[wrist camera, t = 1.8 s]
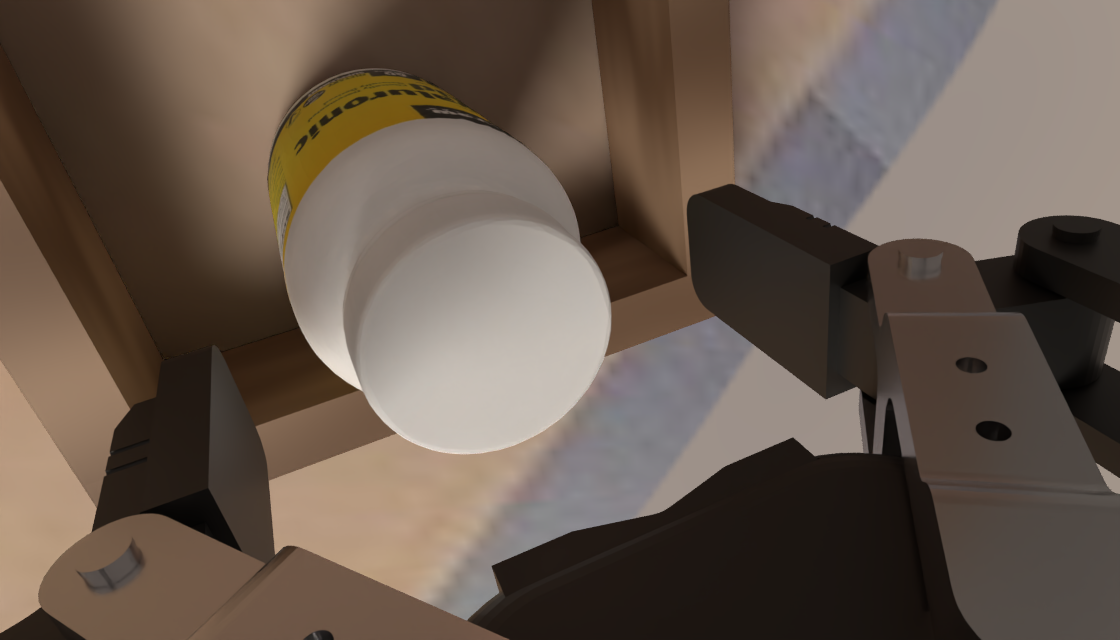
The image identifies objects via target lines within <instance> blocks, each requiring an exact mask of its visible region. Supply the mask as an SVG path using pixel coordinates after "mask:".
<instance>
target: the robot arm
mask: <svg viewBox="0 0 1120 640" xmlns="http://www.w3.org/2000/svg"><path fill="white" fill-rule="evenodd" d="M687 225H688V239H689V252H690V266H691V278H692V283H693V287H694V290H695V292H696V294H697V297H698V298H699V300H700V302H701V303H702V305H703V306H704V307H705V308H706V309H707V310H709V311H710V312H711V313H713V314H714V315H715V316H717V317H718V318H719V319H721V320H722V321H723V322H725V323H726V324H727V325H729V326H730V327H731V328H732V329H734V330H735V331H736V332H738V333H739V334H740V335H742V336H743V337H744V338H746V339H747V340H748V341H750V342H751V343H752V344H754V345H755V346H756V347H757V348H759V349H760V350H761V351H763V352H764V353H766V354H767V355H768V356H769V357H771V358H772V359H773V360H775V361H776V362H777V363H779V364H780V365H781V366H783V367H784V368H785V369H787V370H788V371H789V372H790V373H792V374H793V375H795V376H796V377H797V378H798V379H800V380H801V381H802V382H804V383H805V384H806V385H808V386H809V387H810V388H812V389H813V390H814V391H816V392H817V393H818V394H819V395H821V396H822V397H823V398H825V399H828V398H831V397H833V396H835V395H838V394H840V393H842V392H845V391H847V390H850V389H852V388H855V387H858V388H859V389H860V397H859V415H860V425H861V433H862V442H863V451H864V453H836V454H827V455H819V456H814V455H813V454H811V453H810V452H809V451H808V450H807V449H805V448H804V447H803V446H802V445H801V444H800V443H799V442H798V441H796V440H795V439H794V438H790V439H788V440H786V441H784V442H781V443H779V444H776V445H774V446H772V447H769V448H767V449H765V450H762V451H760V452H758V453H755V454H753V455H751V456H749V457H746V458H744V459H742V460H739V461H737V462H734V463H732V464H730V465H727V466H725V467H724V468H722V469H721V470H720V471H718V472H717V473H716V474H714V475H713V476H711V477H710V478H709V479H707V480H706V481H705V482H703V483H702V484H701V485H699V486H698V487H697V488H695V489H694V490H693V491H691V492H690V493H688V494H687V495H686V496H684V497H683V498H682V499H680V500H679V501H678V502H676V503H675V504H673V505H672V506H671V507H669V508H668V509H666V510H665V511H663V512H660V513H657V514H654V515H649V516H644V517H639V518H635V519H630V520H625V521H620V522H615V523H611V524H606V525H601V526H596V527H592V528H587V529H582V530H577V531H572V532H570V533H568V534H565V535H563V536H561V537H558V538H556V539H554V540H551V541H549V542H547V543H544V544H542V545H540V546H537V547H535V548H533V549H530V550H528V551H526V552H523V553H521V554H518V555H516V556H514V557H511V558H509V559H507V560H504V561H502V562H500V563H497V564H495V565H493V566H492V569H493V572H494V576H495V579H496V582H497V586H498V589H499V594H497V595H496V596H495V597H493V598H492V599H491V600H489V601H488V602H487V603H485V604H484V605H483V606H482V607H481V608H480V609H479V610H478V611H476V612H475V613H474V614H473V615H472V616H471V617H470V618H469V619H468V620H467V621H466V620H464V619H461V618H459V617H457V616H455V615H452V614H450V613H448V612H446V611H443V610H441V609H439V608H437V607H434V606H432V605H430V604H427V603H425V602H423V601H421V600H418V599H416V598H414V597H412V596H409V595H407V594H405V593H403V592H400V591H398V590H396V589H393V588H391V587H389V586H387V585H384V584H382V583H380V582H378V581H375V580H373V579H371V578H368V577H366V576H364V575H362V574H359V573H357V572H355V571H353V570H350V569H348V568H346V567H344V566H341V565H339V564H337V563H334V562H332V561H330V560H328V559H325V558H323V557H321V556H319V555H316V554H314V553H312V552H310V551H307V550H305V549H302V548H300V547H296V546H286V547H283V548H282V549H281V550H280V551H279V552H278V553H277V554H276V555H275V550H274V539H273V527H272V515H271V504H270V492H269V480H268V469H267V461H266V456H265V452H264V449H263V445H262V442H261V439H260V437H259V434H258V431H257V429H256V427H255V424H254V422H253V420H252V418H251V416H250V414H249V411H248V409H247V407H246V405H245V403H244V401H243V398H242V396H241V394H240V392H239V390H238V388H237V385H236V383H235V381H234V379H233V377H232V375H231V372H230V370H229V368H228V366H227V364H226V362H225V360H224V357H223V356H222V354H221V352H220V350H219V349H218V348H217V346H215V345H211V346H208V347H205V348H202V349H199V350H195V351H192V352H189V353H186V354H183V355H180V356H176V357H173V358H170V359H167V360H164V361H162V362H161V367H160V374H159V381H158V387H157V394H156V397H155V398H152V399H149V400H146V401H143V402H140V403H137V404H134V405H133V407H132V408H131V409H130V410H129V412H128V413H127V414H126V415H125V417H124V418H123V419H122V420H121V422H120V423H119V424H118V425H117V427H116V428H115V429H114V433H113V438H112V443H111V447H110V455H111V456H109V457H108V461H107V465H106V470H105V472H106V476H104V479H103V483H102V488H101V492H100V497H99V501H98V506H97V510H96V515H95V519H94V524H93V528H92V533H90V534H88V535H86V536H85V537H84V538H82V539H81V540H79V541H78V542H76V543H75V544H74V545H73V546H71V547H70V548H69V549H68V550H66V551H65V552H64V553H63V554H62V555H61V556H60V557H59V558H58V559H57V560H56V562H55V563H54V564H53V565H52V566H51V567H50V569H49V570H48V572H47V573H46V575H45V576H44V578H43V581H42V583H41V585H40V589H39V593H38V598H39V603H40V605H41V608H39V609H38V610H37V611H35V612H34V613H33V614H31V615H30V616H28V617H27V618H25V619H23V620H22V621H20V622H19V623H17V624H15V625H14V626H12V627H10V628H9V629H7V630H5V631H4V632H2V633H0V640H1120V494H1116V493H1114V492H1112V491H1111V490H1110V489H1109V488H1108V487H1107V485H1106V483H1105V481H1104V479H1103V477H1102V475H1101V473H1100V471H1099V469H1098V467H1097V465H1096V463H1097V464H1099V465H1100V466H1102V467H1104V468H1105V469H1107V470H1108V471H1110V472H1111V473H1113V474H1114V475H1116V476H1117V477H1119V478H1120V371H1118V370H1116V369H1114V368H1112V367H1110V366H1108V365H1106V364H1104V360H1105V356H1106V353H1107V349H1108V345H1109V341H1110V337H1111V333H1112V330H1113V325H1114V322H1115V321H1117V322H1119V323H1120V225H1118V224H1115V223H1112V222H1109V221H1105V220H1101V219H1097V218H1091V217H1084V216H1067V215H1066V216H1049V217H1043V218H1038V219H1035V220H1032V221H1029V222H1027V223H1026V224H1024V225H1023V226H1022V227H1021V228H1020V230H1019V233H1018V238H1017V245H1016V250H1015V255H1012V256H1006V257H999V258H993V259H986V260H980V261H974V258H973V257H972V256H971V254H970V253H969V252H967V251H966V250H964V249H963V248H961V247H959V246H957V245H954V244H951V243H948V242H943V241H938V240H932V239H903V240H896V241H891V242H888V243H885V244H882V245H880V246H878V245H876V244H874V243H871V242H869V241H867V240H865V239H863V238H860V237H858V236H856V235H854V234H852V233H850V232H848V231H846V230H843V229H841V228H839V227H837V226H835V225H834V226H832V227H831V225H830V223H828V222H826V221H824V220H822V219H820V218H818V217H817V218H814V217H813V215H811V214H809V213H807V212H805V211H802V210H800V209H798V208H796V207H794V206H791V205H786V204H780V203H775V202H770V201H768V200H766V199H764V198H762V197H760V196H758V195H756V194H754V193H751V192H749V191H747V190H745V189H743V188H741V187H739V186H737V185H734V184H727V185H724V186H721V187H717V188H714V189H711V190H708V191H705V192H702V193H698V194H695V195H692V196H691V197H690V198H689V200H688V203H687Z"/></svg>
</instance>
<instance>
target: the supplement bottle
mask: <svg viewBox="0 0 1120 640" xmlns="http://www.w3.org/2000/svg"><path fill="white" fill-rule="evenodd" d="M267 180H268V190H269V197H270V203H271V208H272V213H273V218H274V224H275V229H276V235H277V241H278V246H279V251H280V256H281V262H282V266H283V272H284V278H285V283H286V288H287V292H288V296H289V299H290V302H291V305H292V308H293V311H294V314H295V317H296V319H297V322H298V324H299V326H300V329H301V331H302V333H303V334H304V336H305V338H306V340H307V341H308V343H309V345H310V346H311V348H312V349H313V351H314V352H315V353H316V355H317V356H318V357H319V358H320V359H321V360H322V361H323V362H324V363H325V364H326V365H327V366H328V367H329V368H330V369H331V370H332V371H333V372H334V373H335V374H336V375H338V376H339V377H340V378H342V379H343V380H345V381H346V382H348V383H349V384H351V385H352V386H354V387H356V388H357V389H359V390H361V391H363V393H364V395H365V397H366V399H367V400H368V402H369V404H370V406H371V407H372V409H373V410H374V411H375V413H376V414H377V415H378V416H379V417H380V418H381V419H382V421H383V422H384V423H385V424H386V425H387V426H389V427H390V428H391V429H392V430H393V431H395V432H396V433H397V434H399V435H400V436H402V437H403V438H405V439H407V440H409V441H411V442H412V443H414V444H416V445H419V446H422V447H425V448H427V449H430V450H434V451H439V452H444V453H453V454H476V453H485V452H490V451H496V450H500V449H504V448H507V447H510V446H513V445H516V444H518V443H521V442H523V441H525V440H527V439H529V438H531V437H533V436H536V435H537V434H539V433H541V432H542V431H544V430H545V429H547V428H548V427H550V426H551V425H552V424H554V423H555V422H557V421H558V420H559V419H561V418H562V417H563V416H564V415H565V414H566V413H567V412H568V411H569V410H570V409H571V408H572V407H573V406H574V405H575V404H576V403H577V402H578V401H579V399H580V398H581V397H582V396H583V394H584V393H585V392H586V390H587V389H588V388H589V387H590V385H591V383H592V381H593V380H594V378H595V376H596V374H597V373H598V371H599V369H600V366H601V364H602V362H603V359H604V356H605V353H606V350H607V346H608V342H609V338H610V333H611V318H612V316H611V302H610V296H609V292H608V288H607V285H606V282H605V279H604V277H603V275H602V272H601V270H600V268H599V267H598V265H597V263H596V262H595V260H594V259H593V257H592V256H591V254H590V253H589V251H588V250H587V249H586V248H585V247H584V246H583V245H582V244H581V242H580V234H579V228H578V223H577V219H576V216H575V212H574V210H573V207H572V204H571V202H570V200H569V198H568V196H567V194H566V192H565V191H564V189H563V187H562V185H561V184H560V182H559V181H558V179H557V178H556V177H555V175H554V174H553V172H552V171H551V170H550V169H549V168H548V167H547V166H546V164H545V163H543V162H542V161H541V160H540V159H539V158H538V157H537V156H536V155H535V154H534V153H532V152H531V151H530V150H529V149H528V148H527V147H526V146H525V145H523V144H522V143H521V142H520V141H518V140H516V139H515V138H513V137H512V136H511V135H509V134H508V133H506V132H505V131H503V130H502V129H500V128H498V127H497V126H495V125H494V124H492V123H491V122H489V121H488V120H486V119H485V118H484V117H482V116H481V115H479V114H478V113H476V112H475V111H474V110H472V109H471V108H469V107H468V106H466V105H465V104H463V103H462V102H461V101H459V100H457V99H456V98H454V97H453V96H452V95H450V94H449V93H447V92H445V91H444V90H442V89H441V88H439V87H438V86H436V85H434V84H433V83H430V82H429V81H426V80H424V79H422V78H420V77H417V76H414V75H412V74H409V73H405V72H402V71H397V70H391V69H380V68H371V69H359V70H353V71H349V72H345V73H341V74H338V75H336V76H333V77H331V78H328V79H327V80H325V81H323V82H321V83H319V84H318V85H316V86H315V87H313V88H311V89H310V90H309V91H308V92H306V93H305V94H304V95H303V96H302V97H301V98H300V99H299V100H297V101H296V103H295V104H294V105H293V106H292V107H291V108H290V109H289V111H288V112H287V114H286V115H285V117H284V118H283V120H282V122H281V123H280V126H279V128H278V130H277V132H276V134H275V137H274V139H273V143H272V147H271V151H270V157H269V163H268V178H267Z"/></svg>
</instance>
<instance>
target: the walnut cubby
mask: <svg viewBox="0 0 1120 640" xmlns="http://www.w3.org/2000/svg"><path fill="white" fill-rule="evenodd" d="M592 7H593V15H594V23H595V32H596V40H597V49H598V57H599V66H600V74H601V82H602V91H603V99H604V108H605V116H606V124H607V133H608V141H609V150H610V158H611V166H612V175H613V183H614V192H615V200H616V208H617V217H618V225H619V226H617V227H614V228H611V229H607V230H604V231H601V232H598V233H595V234H592V235H589V236H585V237H582V238H580V242H581V244H582V245H583V246H584V247H585V248H586V249H587V250H588V251H589V253H590V254H591V256H592V257H593V259H594V260H595V262H596V263H597V265H598V267H599V268H600V270H601V272H602V275H603V277H604V279H605V282H606V285H607V288H608V292H609V296H610V302H611V316H612V318H611V333H610V338H609V342H608V346H607V350H606V353H605V356H608V355H611V354H613V353H616V352H619V351H622V350H624V349H627V348H630V347H632V346H635V345H638V344H641V343H643V342H646V341H649V340H651V339H654V338H657V337H660V336H662V335H665V334H668V333H671V332H673V331H676V330H679V329H681V328H684V327H687V326H690V325H692V324H695V323H698V322H700V321H703V320H706V319H709V318H711V317H714V316H715V315H714V314H713V313H711V312H710V311H709V310H707V309H706V308H705V307H704V306H703V305H702V303H701V302H700V300H699V298H698V297H697V294H696V292H695V290H694V287H693V283H692V278H691V266H690V252H689V239H688V225H687V203H688V200H689V198H690V197H691V196H692V195H695V194H698V193H702V192H705V191H708V190H711V189H714V188H717V187H721V186H724V185H727V184H734V185H735V177H734V144H733V112H732V79H731V46H730V13H729V0H592ZM221 354H222V356H223V357H224V360H225V362H226V364H227V366H228V368H229V370H230V372H231V375H232V377H233V379H234V381H235V383H236V385H237V388H238V390H239V392H240V394H241V396H242V398H243V401H244V403H245V405H246V407H247V409H248V411H249V414H250V416H251V418H252V420H253V422H254V424H255V427H256V429H257V431H258V434H259V437H260V439H261V442H262V445H263V449H264V452H265V456H266V461H267V469H268V480H271V479H274V478H277V477H279V476H282V475H285V474H287V473H290V472H293V471H296V470H298V469H301V468H304V467H306V466H309V465H312V464H315V463H317V462H320V461H323V460H326V459H328V458H331V457H334V456H336V455H339V454H342V453H345V452H347V451H350V450H353V449H355V448H358V447H361V446H364V445H366V444H369V443H372V442H374V441H377V440H380V439H383V438H385V437H388V436H391V435H393V434H396V432H395V431H393V430H392V429H391V428H390V427H389V426H387V425H386V424H385V423H384V422H383V421H382V419H381V418H380V417H379V416H378V415H377V414H376V413H375V411H374V410H373V409H372V407H371V406H370V404H369V402H368V400H367V399H366V397H365V395H364V393H363V391H361V390H359V389H357V388H356V387H354V386H352V385H351V384H349V383H348V382H346V381H345V380H343V379H342V378H340V377H339V376H338V375H336V374H335V373H334V372H333V371H332V370H331V369H330V368H329V367H328V366H327V365H326V364H325V363H324V362H323V361H322V360H321V359H320V358H319V357H318V356H317V355H316V353H315V352H314V351H313V349H312V348H311V346H310V345H309V343H308V341H307V340H306V338H305V336H304V334H303V333H302V331H301V329H300V328H297V329H294V330H291V331H287V332H284V333H281V334H278V335H275V336H272V337H269V338H266V339H262V340H259V341H256V342H253V343H250V344H247V345H244V346H240V347H237V348H234V349H231V350H228V351H225V352H222V353H221ZM605 356H604V357H605ZM0 360H1V361H2V363H3V365H4V366H5V368H6V369H7V371H8V372H9V374H10V375H11V377H12V378H13V380H14V381H15V383H16V385H17V386H18V388H19V389H20V391H21V392H22V394H23V395H24V397H25V398H26V400H27V401H28V403H29V405H30V406H31V408H32V409H33V411H34V412H35V414H36V415H37V417H38V418H39V420H40V421H41V423H42V424H43V426H44V428H45V429H46V431H47V432H48V434H49V435H50V437H51V438H52V440H53V441H54V443H55V444H56V446H57V448H58V449H59V451H60V452H61V454H62V455H63V457H64V458H65V460H66V461H67V463H68V464H69V466H70V468H71V469H72V471H73V472H74V474H75V475H76V477H77V478H78V480H79V481H80V483H81V484H82V486H83V487H84V489H85V491H86V492H87V494H88V495H89V497H90V498H91V500H92V501H93V503H94V504H95V506H96V507H97V506H98V501H99V497H100V492H101V488H102V483H103V479H104V476H106V472H105V470H106V465H107V461H108V457H109V456H111V455H110V447H111V443H112V438H113V433H114V429H115V428H116V427H117V425H118V424H119V423H120V422H121V420H122V419H123V418H124V417H125V415H126V414H127V413H128V412H129V410H130V409H131V408H132V407H133V405H134V404H137V403H140V402H143V401H146V400H149V399H152V398H155V397H156V394H157V387H158V381H159V374H160V367H161V362H162V361H163V359H162V357H161V355H160V353H159V351H158V349H157V347H156V345H155V343H154V341H153V339H152V337H151V336H150V334H149V332H148V330H147V328H146V326H145V324H144V322H143V320H142V318H141V316H140V314H139V312H138V310H137V308H136V306H135V304H134V303H133V301H132V299H131V297H130V295H129V293H128V291H127V289H126V287H125V285H124V283H123V281H122V279H121V277H120V275H119V273H118V271H117V269H116V268H115V266H114V264H113V262H112V260H111V258H110V256H109V254H108V252H107V250H106V248H105V246H104V244H103V242H102V240H101V238H100V236H99V234H98V233H97V231H96V229H95V227H94V225H93V223H92V221H91V219H90V217H89V215H88V213H87V211H86V209H85V207H84V205H83V203H82V201H81V199H80V198H79V196H78V194H77V192H76V190H75V188H74V186H73V184H72V182H71V180H70V178H69V176H68V174H67V172H66V170H65V168H64V166H63V164H62V163H61V161H60V159H59V157H58V155H57V153H56V151H55V149H54V147H53V145H52V143H51V141H50V139H49V137H48V135H47V133H46V131H45V130H44V128H43V126H42V124H41V122H40V120H39V118H38V116H37V114H36V112H35V110H34V108H33V106H32V104H31V102H30V100H29V98H28V96H27V95H26V93H25V91H24V89H23V87H22V85H21V83H20V81H19V79H18V77H17V75H16V73H15V71H14V69H13V67H12V65H11V63H10V61H9V60H8V58H7V56H6V54H5V52H4V50H3V48H2V46H1V44H0Z"/></svg>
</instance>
